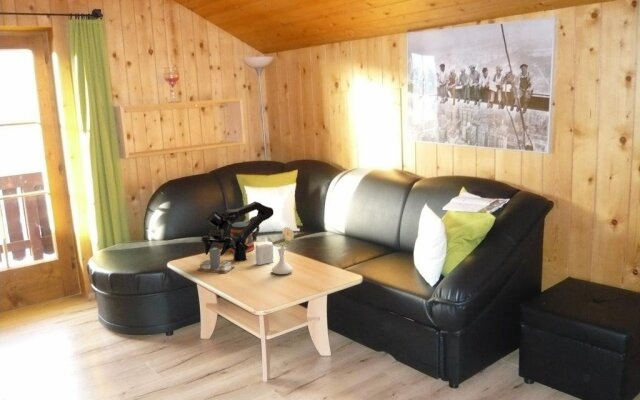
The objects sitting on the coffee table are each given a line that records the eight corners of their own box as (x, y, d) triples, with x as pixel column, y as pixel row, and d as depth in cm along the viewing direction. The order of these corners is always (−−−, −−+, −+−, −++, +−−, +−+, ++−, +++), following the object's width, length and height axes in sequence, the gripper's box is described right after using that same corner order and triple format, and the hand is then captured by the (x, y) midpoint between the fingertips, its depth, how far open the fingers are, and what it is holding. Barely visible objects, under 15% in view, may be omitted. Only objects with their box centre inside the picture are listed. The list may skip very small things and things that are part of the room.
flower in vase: (276, 277, 312) (274, 231, 307) (268, 271, 322) (266, 227, 317) (299, 273, 318) (297, 228, 313) (290, 267, 328) (288, 223, 323)
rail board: (196, 271, 327) (196, 263, 326) (206, 265, 336) (205, 258, 335) (225, 273, 321) (225, 266, 320) (234, 268, 330) (234, 261, 329)
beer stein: (254, 243, 377) (252, 213, 373) (264, 249, 365) (263, 217, 361) (226, 248, 368) (224, 217, 364) (235, 254, 355) (234, 222, 351)
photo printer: (271, 260, 342) (270, 239, 339) (274, 262, 338) (273, 241, 336) (255, 264, 336) (254, 242, 334) (258, 265, 333) (257, 244, 330)
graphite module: (214, 266, 331) (213, 247, 328) (220, 267, 329) (219, 247, 327) (210, 268, 327) (209, 249, 325) (217, 269, 326) (215, 249, 323)
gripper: (201, 222, 330) (192, 246, 322) (231, 224, 324) (222, 249, 316) (209, 232, 339) (200, 256, 331) (238, 234, 332) (230, 259, 325)
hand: (213, 255), depth 325 cm, fingers open, 9 cm apart
